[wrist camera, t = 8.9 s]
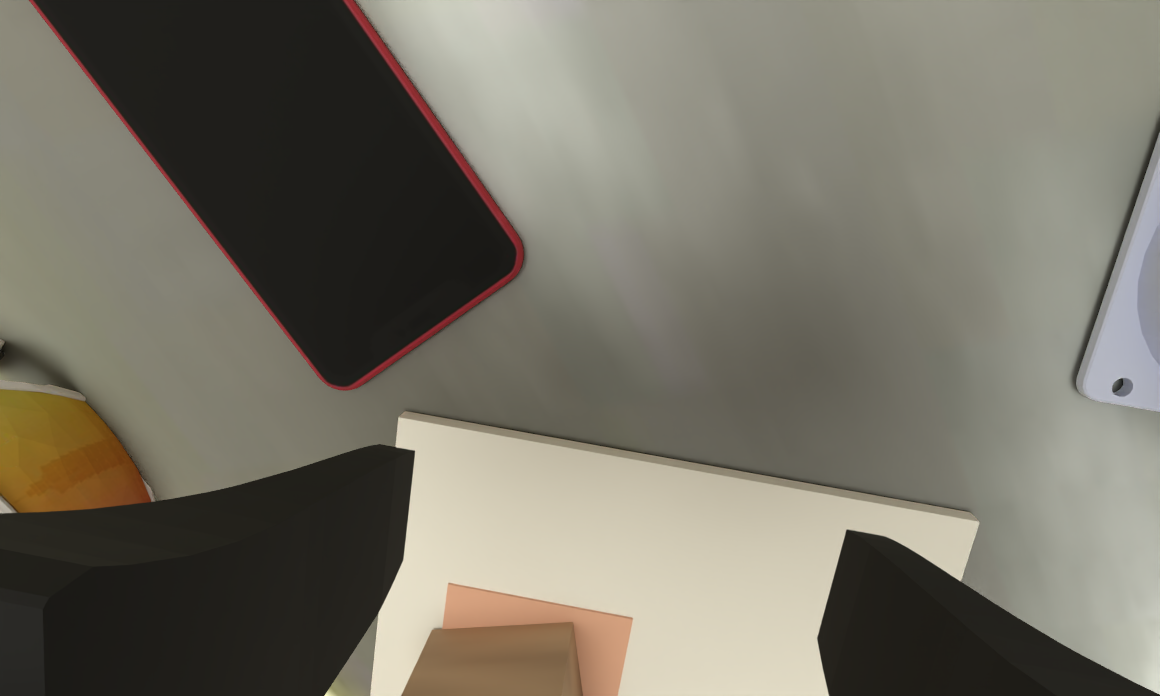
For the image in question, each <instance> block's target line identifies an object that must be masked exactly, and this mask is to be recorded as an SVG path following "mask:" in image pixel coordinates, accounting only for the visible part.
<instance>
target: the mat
mask: <svg viewBox="0 0 1160 696" xmlns="http://www.w3.org/2000/svg"><path fill="white" fill-rule="evenodd" d="M396 447H397V448H403V449H408V450H414V451H415V458H414V468H413V477H412V486H411V495H410V504H409V514H408V523H407V532H406V541H405V550H404V560H403V562H402V564H401V567H400V569H399V571H398V573H397V576H396V578H395V580H394V582H393V584H392V587H391V589H390V591H389V593H388V595H387V597H386V599H385V601H384V603H383V605H382V607H381V609H380V611H379V615H378V625H377V635H376V645H375V655H374V665H373V674H372V684H371V694H370V696H401V695H402V693H403V691H404V688H405V686H406V684H407V682H408V680H409V678H410V676H411V673H412V671H413V669H414V667H415V665H416V663H417V661H418V659H419V656H420V654H421V652H422V650H423V648H424V646H425V644H426V641H427V639H428V637H429V635H430V633H431V631H432V630H438V629H455V628H473V627H491V626H509V625H527V624H544V623H562V622H573V626H574V633H575V641H576V648H577V655H578V663H579V670H580V677H581V685H582V692H583V696H829V694H828V690H827V685H826V681H825V676H824V672H823V667H822V662H821V657H820V652H819V646H818V641H817V637H818V633H819V629H820V625H821V622H822V618H823V614H824V611H825V607H826V603H827V600H828V596H829V592H830V589H831V585H832V581H833V578H834V574H835V570H836V567H837V563H838V559H839V556H840V552H841V548H842V544H843V541H844V537H845V533H846V530H847V529H848V530H854V531H859V532H865V533H870V534H876V535H881V536H885V537H888V538H890V539H892V540H894V541H896V542H898V543H900V544H902V545H904V546H906V547H907V548H909V549H911V550H912V551H914V552H916V553H917V554H919V555H921V556H922V557H924V558H925V559H927V560H928V561H930V562H932V563H933V564H935V565H936V566H938V567H939V568H941V569H942V570H944V571H945V572H947V573H948V574H950V575H951V576H953V577H955V578H956V579H958V580H959V581H961V579H962V576H963V573H964V570H965V567H966V564H967V561H968V557H969V554H970V551H971V548H972V545H973V542H974V539H975V536H976V532H977V529H978V526H979V523H980V521H979V520H977V519H976V518H975V517H974V516H973V515H972V514H971V513H970V512H965V511H960V510H954V509H949V508H943V507H938V506H932V505H926V504H921V503H915V502H910V501H904V500H899V499H893V498H887V497H882V496H876V495H871V494H865V493H860V492H854V491H848V490H843V489H837V488H832V487H826V486H821V485H815V484H809V483H804V482H798V481H793V480H787V479H781V478H776V477H770V476H765V475H759V474H754V473H748V472H742V471H737V470H731V469H726V468H720V467H715V466H709V465H703V464H698V463H692V462H687V461H681V460H676V459H670V458H664V457H659V456H653V455H648V454H642V453H637V452H631V451H625V450H620V449H614V448H609V447H603V446H598V445H592V444H586V443H581V442H575V441H570V440H564V439H558V438H553V437H547V436H542V435H536V434H531V433H525V432H519V431H514V430H508V429H503V428H497V427H492V426H486V425H480V424H475V423H469V422H464V421H458V420H453V419H447V418H441V417H436V416H430V415H425V414H419V413H414V412H408V411H405V412H404V413H403V414H402V415H400V416H399V418H398V428H397V438H396Z"/></svg>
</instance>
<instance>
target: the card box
mask: <svg viewBox="0 0 1160 696" xmlns="http://www.w3.org/2000/svg"><path fill="white" fill-rule="evenodd" d="M401 696H583V692H582V685H581V677H580V670H579V663H578V655H577V648H576V641H575V633H574V626H573V622H562V623H544V624H527V625H509V626H491V627H473V628H455V629H438V630H432V631H431V633H430V635H429V637H428V639H427V641H426V644H425V646H424V648H423V650H422V652H421V654H420V656H419V659H418V661H417V663H416V665H415V667H414V669H413V671H412V673H411V676H410V678H409V680H408V682H407V684H406V686H405V688H404V691H403V693H402V695H401Z"/></svg>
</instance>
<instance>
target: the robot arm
mask: <svg viewBox="0 0 1160 696" xmlns="http://www.w3.org/2000/svg"><path fill="white" fill-rule="evenodd" d="M1120 378H1122V379H1123V386H1122V387H1121V389H1120V390H1118V391H1116V392H1113V391H1112V385H1113V384H1114V382H1115V381H1116V380H1118V379H1120ZM1076 386H1077V389H1078V391H1079V392H1080V393H1081V394H1082V395H1083V396H1085V397H1087V398H1089V399H1092V400H1095V401H1098V402H1104V403H1110V404H1116V405H1122V406H1127V407H1133V408H1139V409H1145V410H1151V411H1157V412H1160V133H1159V136H1158V139H1157V142H1156V145H1155V148H1154V151H1153V154H1152V157H1151V159H1150V162H1149V165H1148V168H1147V171H1146V174H1145V177H1144V180H1143V183H1142V186H1141V189H1140V192H1139V195H1138V198H1137V201H1136V204H1135V207H1134V210H1133V213H1132V216H1131V219H1130V222H1129V225H1128V228H1127V231H1126V233H1125V236H1124V239H1123V242H1122V245H1121V248H1120V251H1119V254H1118V257H1117V260H1116V263H1115V266H1114V269H1113V272H1112V275H1111V278H1110V281H1109V284H1108V287H1107V290H1106V293H1105V296H1104V299H1103V302H1102V305H1101V307H1100V310H1099V313H1098V316H1097V319H1096V322H1095V325H1094V328H1093V331H1092V334H1091V337H1090V340H1089V343H1088V346H1087V349H1086V352H1085V355H1084V358H1083V361H1082V364H1081V367H1080V370H1079V373H1078V376H1077V380H1076ZM414 458H415V451H414V450H408V449H403V448H397V447H392V446H386V445H381V444H379V445H372V446H368V447H364V448H360V449H357V450H353V451H350V452H347V453H344V454H340V455H337V456H334V457H331V458H328V459H325V460H322V461H319V462H316V463H313V464H310V465H307V466H304V467H300V468H297V469H294V470H291V471H287V472H284V473H280V474H277V475H273V476H270V477H266V478H263V479H259V480H255V481H252V482H248V483H245V484H241V485H237V486H233V487H229V488H225V489H220V490H216V491H211V492H207V493H201V494H196V495H191V496H185V497H180V498H175V499H168V500H162V501H155V502H146V503H137V504H129V505H120V506H112V507H103V508H95V509H83V510H68V511H51V512H26V513H0V696H324V695H325V694H326V692H327V691H328V689H329V688H330V686H331V685H332V683H333V682H334V680H335V679H336V677H337V675H338V674H339V672H340V671H341V669H342V668H343V666H344V665H345V663H346V662H347V660H348V659H349V657H350V656H351V654H352V653H353V651H354V650H355V648H356V647H357V645H358V644H359V642H360V640H361V639H362V637H363V636H364V634H365V633H366V631H367V630H368V628H369V627H370V625H371V623H372V622H373V620H374V619H375V617H376V616H377V614H378V612H379V611H380V609H381V607H382V605H383V603H384V601H385V599H386V597H387V595H388V593H389V591H390V589H391V587H392V584H393V582H394V580H395V578H396V576H397V573H398V571H399V569H400V567H401V564H402V562H403V560H404V550H405V541H406V532H407V523H408V514H409V504H410V495H411V486H412V477H413V468H414ZM817 641H818V646H819V652H820V657H821V662H822V667H823V672H824V676H825V681H826V685H827V690H828V694H829V696H1160V695H1159V694H1157V693H1155V692H1153V691H1151V690H1149V689H1147V688H1145V687H1142V686H1140V685H1138V684H1136V683H1134V682H1132V681H1130V680H1128V679H1126V678H1125V677H1123V676H1121V675H1119V674H1117V673H1115V672H1113V671H1111V670H1109V669H1107V668H1105V667H1103V666H1101V665H1099V664H1097V663H1096V662H1094V661H1092V660H1090V659H1088V658H1086V657H1084V656H1082V655H1080V654H1078V653H1077V652H1075V651H1073V650H1071V649H1069V648H1068V647H1066V646H1064V645H1062V644H1061V643H1059V642H1057V641H1055V640H1054V639H1052V638H1050V637H1049V636H1047V635H1045V634H1044V633H1042V632H1040V631H1039V630H1037V629H1035V628H1034V627H1032V626H1030V625H1028V624H1027V623H1025V622H1023V621H1022V620H1020V619H1018V618H1017V617H1015V616H1014V615H1012V614H1010V613H1009V612H1007V611H1006V610H1004V609H1002V608H1001V607H999V606H998V605H996V604H994V603H993V602H991V601H990V600H988V599H987V598H985V597H984V596H982V595H980V594H979V593H977V592H976V591H974V590H973V589H971V588H970V587H968V586H967V585H965V584H964V583H962V582H961V581H959V580H958V579H956V578H955V577H953V576H951V575H950V574H948V573H947V572H945V571H944V570H942V569H941V568H939V567H938V566H936V565H935V564H933V563H932V562H930V561H928V560H927V559H925V558H924V557H922V556H921V555H919V554H917V553H916V552H914V551H912V550H911V549H909V548H907V547H906V546H904V545H902V544H900V543H898V542H896V541H894V540H892V539H890V538H888V537H885V536H881V535H876V534H870V533H865V532H859V531H854V530H848V529H847V530H846V533H845V537H844V541H843V544H842V548H841V552H840V556H839V559H838V563H837V567H836V570H835V574H834V578H833V581H832V585H831V589H830V592H829V596H828V600H827V603H826V607H825V611H824V614H823V618H822V622H821V625H820V629H819V633H818V637H817Z"/></svg>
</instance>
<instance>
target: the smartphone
mask: <svg viewBox="0 0 1160 696" xmlns="http://www.w3.org/2000/svg"><path fill="white" fill-rule="evenodd" d="M29 1H30V2H31V3H32V5H33V6H34V7H35V9H36V10H37V11H38V13H39V14H40V15H41V16H42V18H43V19H44V20H45V22H46V23H47V24H48V26H49V27H50V28H51V29H52V31H53V32H54V33H55V35H56V36H57V37H58V39H59V40H60V41H61V42H62V44H63V45H64V46H65V48H66V49H67V50H68V52H69V53H70V54H71V55H72V57H73V58H74V59H75V61H76V62H77V63H78V65H79V66H80V67H81V69H82V70H83V71H84V72H85V74H86V75H87V76H88V78H89V79H90V80H91V82H92V83H93V84H94V85H95V87H96V88H97V89H98V91H99V92H100V93H101V95H102V96H103V97H104V98H105V100H106V101H107V102H108V104H109V105H110V106H111V108H112V109H113V110H114V111H115V113H116V114H117V115H118V117H119V118H120V119H121V121H122V122H123V123H124V124H125V126H126V127H127V128H128V130H129V131H130V132H131V134H132V135H133V136H134V138H135V139H136V140H137V141H138V143H139V144H140V145H141V147H142V148H143V149H144V151H145V152H146V153H147V154H148V156H149V157H150V158H151V160H152V161H153V162H154V164H155V165H156V166H157V167H158V169H159V170H160V171H161V173H162V174H163V175H164V177H165V178H166V179H167V180H168V182H169V183H170V184H171V186H172V187H173V188H174V190H175V191H176V192H177V193H178V195H179V196H180V197H181V199H182V200H183V201H184V203H185V204H186V205H187V207H188V208H189V209H190V210H191V212H192V213H193V214H194V216H195V217H196V218H197V220H198V221H199V222H200V223H201V225H202V226H203V227H204V229H205V230H206V231H207V233H208V234H209V235H210V236H211V238H212V239H213V240H214V242H215V243H216V244H217V246H218V247H219V248H220V249H221V251H222V252H223V253H224V255H225V256H226V257H227V259H228V260H229V261H230V262H231V264H232V265H233V266H234V268H235V269H236V270H237V272H238V273H239V274H240V276H241V277H242V278H243V279H244V281H245V282H246V283H247V285H248V286H249V287H250V289H251V290H252V291H253V292H254V294H255V295H256V296H257V298H258V299H259V300H260V302H261V303H262V304H263V305H264V307H265V308H266V309H267V311H268V312H269V313H270V315H271V316H272V317H273V318H274V320H275V321H276V322H277V324H278V325H279V326H280V328H281V329H282V330H283V331H284V333H285V334H286V335H287V337H288V338H289V339H290V341H291V342H292V343H293V345H294V346H295V347H296V348H297V350H298V351H299V352H300V354H301V355H302V356H303V358H304V359H305V360H306V361H307V363H308V364H309V365H310V367H311V368H312V369H313V371H314V372H315V373H316V374H317V376H318V377H319V378H320V379H321V380H322V381H323V382H324V383H325V384H326V385H328V386H330V387H332V388H334V389H338V390H352V389H355V388H358V387H359V386H361V385H363V384H364V383H365V382H367V381H368V380H370V379H371V378H373V377H374V376H375V375H377V374H378V373H380V372H381V371H383V370H384V369H385V368H387V367H388V366H390V365H391V364H393V363H394V362H395V361H397V360H398V359H400V358H401V357H402V356H404V355H405V354H407V353H408V352H410V351H411V350H412V349H414V348H415V347H417V346H418V345H420V344H421V343H422V342H424V341H425V340H427V339H428V338H430V337H431V336H432V335H434V334H435V333H437V332H438V331H440V330H441V329H442V328H444V327H445V326H447V325H448V324H449V323H451V322H452V321H454V320H455V319H457V318H458V317H459V316H461V315H462V314H464V313H465V312H467V311H468V310H469V309H471V308H472V307H474V306H475V305H477V304H478V303H479V302H481V301H482V300H484V299H485V298H487V297H488V296H489V295H491V294H492V293H494V292H495V291H496V290H498V289H499V288H501V287H502V286H504V285H505V284H506V283H508V282H509V281H511V280H512V279H513V278H514V277H515V276H516V275H517V274H518V272H519V271H520V269H521V267H522V263H523V258H524V251H523V245H522V242H521V240H520V238H519V236H518V235H517V233H516V232H515V230H514V229H513V227H512V226H511V225H510V223H509V222H508V220H507V219H506V217H505V216H504V215H503V213H502V212H501V210H500V209H499V207H498V206H497V205H496V203H495V202H494V200H493V199H492V197H491V196H490V195H489V193H488V192H487V190H486V189H485V187H484V186H483V185H482V183H481V182H480V180H479V179H478V177H477V176H476V174H475V173H474V172H473V170H472V169H471V167H470V166H469V164H468V163H467V162H466V160H465V159H464V157H463V156H462V154H461V153H460V152H459V150H458V149H457V147H456V146H455V144H454V143H453V142H452V140H451V139H450V137H449V136H448V134H447V133H446V132H445V130H444V129H443V127H442V126H441V124H440V123H439V122H438V120H437V119H436V117H435V116H434V114H433V113H432V111H431V110H430V109H429V107H428V106H427V104H426V103H425V101H424V100H423V99H422V97H421V96H420V94H419V93H418V91H417V90H416V89H415V87H414V86H413V84H412V83H411V81H410V80H409V79H408V77H407V76H406V74H405V73H404V71H403V70H402V69H401V67H400V66H399V64H398V63H397V61H396V60H395V59H394V57H393V56H392V54H391V53H390V51H389V50H388V48H387V47H386V46H385V44H384V43H383V41H382V40H381V38H380V37H379V36H378V34H377V33H376V31H375V30H374V28H373V27H372V26H371V24H370V23H369V21H368V20H367V18H366V17H365V16H364V14H363V13H362V11H361V10H360V8H359V7H358V6H357V4H356V3H355V1H354V0H29Z"/></svg>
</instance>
